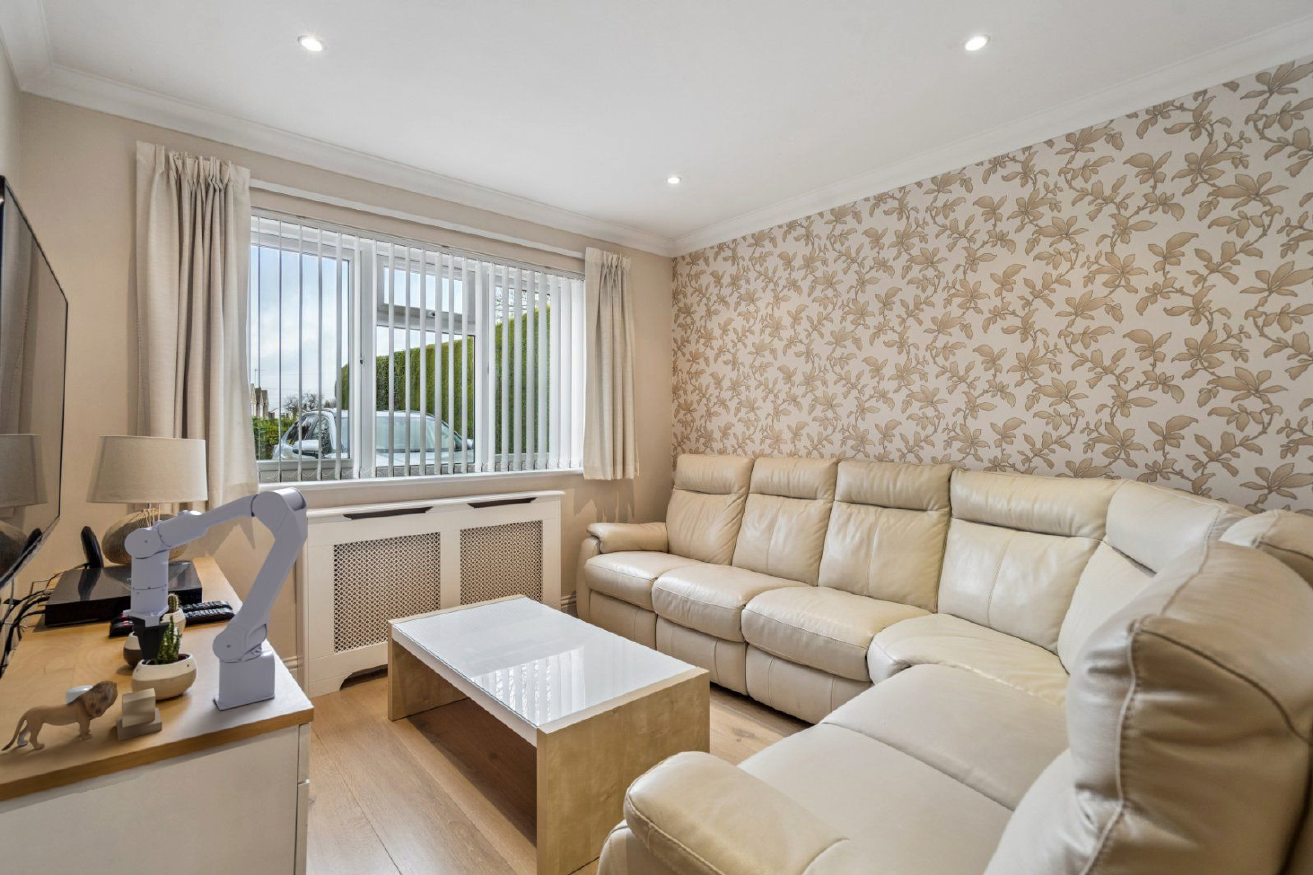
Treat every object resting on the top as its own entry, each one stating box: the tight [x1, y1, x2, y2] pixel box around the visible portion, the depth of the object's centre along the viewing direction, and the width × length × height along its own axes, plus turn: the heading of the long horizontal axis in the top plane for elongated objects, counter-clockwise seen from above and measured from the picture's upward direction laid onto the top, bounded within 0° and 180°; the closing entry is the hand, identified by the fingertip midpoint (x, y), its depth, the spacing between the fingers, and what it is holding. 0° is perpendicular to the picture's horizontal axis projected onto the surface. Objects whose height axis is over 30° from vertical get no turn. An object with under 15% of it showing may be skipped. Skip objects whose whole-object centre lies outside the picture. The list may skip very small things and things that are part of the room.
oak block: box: [121, 687, 156, 727], centre depth 112 cm, size 4×4×4 cm
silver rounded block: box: [65, 684, 94, 704], centre depth 121 cm, size 4×4×3 cm
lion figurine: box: [0, 680, 119, 752], centre depth 107 cm, size 15×5×9 cm, turn 133°
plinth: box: [115, 706, 163, 741], centre depth 112 cm, size 6×8×2 cm
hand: (148, 653), depth 122 cm, fingers open, 7 cm apart
